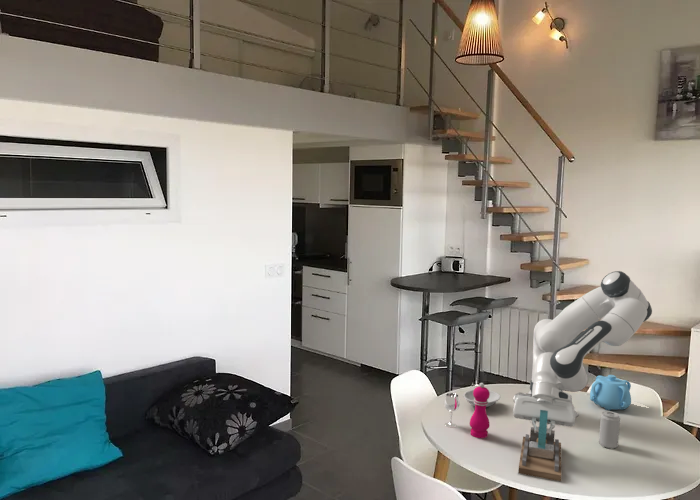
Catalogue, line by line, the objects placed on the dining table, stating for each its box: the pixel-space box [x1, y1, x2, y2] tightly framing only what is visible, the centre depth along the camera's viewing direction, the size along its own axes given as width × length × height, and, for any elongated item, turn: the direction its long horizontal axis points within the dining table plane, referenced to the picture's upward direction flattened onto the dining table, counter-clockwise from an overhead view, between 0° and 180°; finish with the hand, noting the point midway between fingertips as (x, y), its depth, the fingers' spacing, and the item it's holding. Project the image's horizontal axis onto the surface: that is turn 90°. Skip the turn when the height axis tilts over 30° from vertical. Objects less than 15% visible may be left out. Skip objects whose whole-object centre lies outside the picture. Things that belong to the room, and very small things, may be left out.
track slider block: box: [528, 410, 554, 459], centre depth 197 cm, size 5×8×15 cm, turn 71°
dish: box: [462, 389, 501, 408], centre depth 246 cm, size 18×14×5 cm
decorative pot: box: [589, 374, 632, 411], centre depth 252 cm, size 16×16×14 cm
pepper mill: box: [469, 382, 490, 439], centre depth 216 cm, size 7×7×20 cm
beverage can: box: [598, 410, 621, 449], centre depth 211 cm, size 6×6×12 cm
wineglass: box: [443, 392, 460, 429], centre depth 225 cm, size 6×6×12 cm
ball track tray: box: [518, 426, 562, 482], centre depth 198 cm, size 26×13×7 cm, turn 160°
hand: (542, 433), depth 196 cm, fingers closed on track slider block, 2 cm apart
